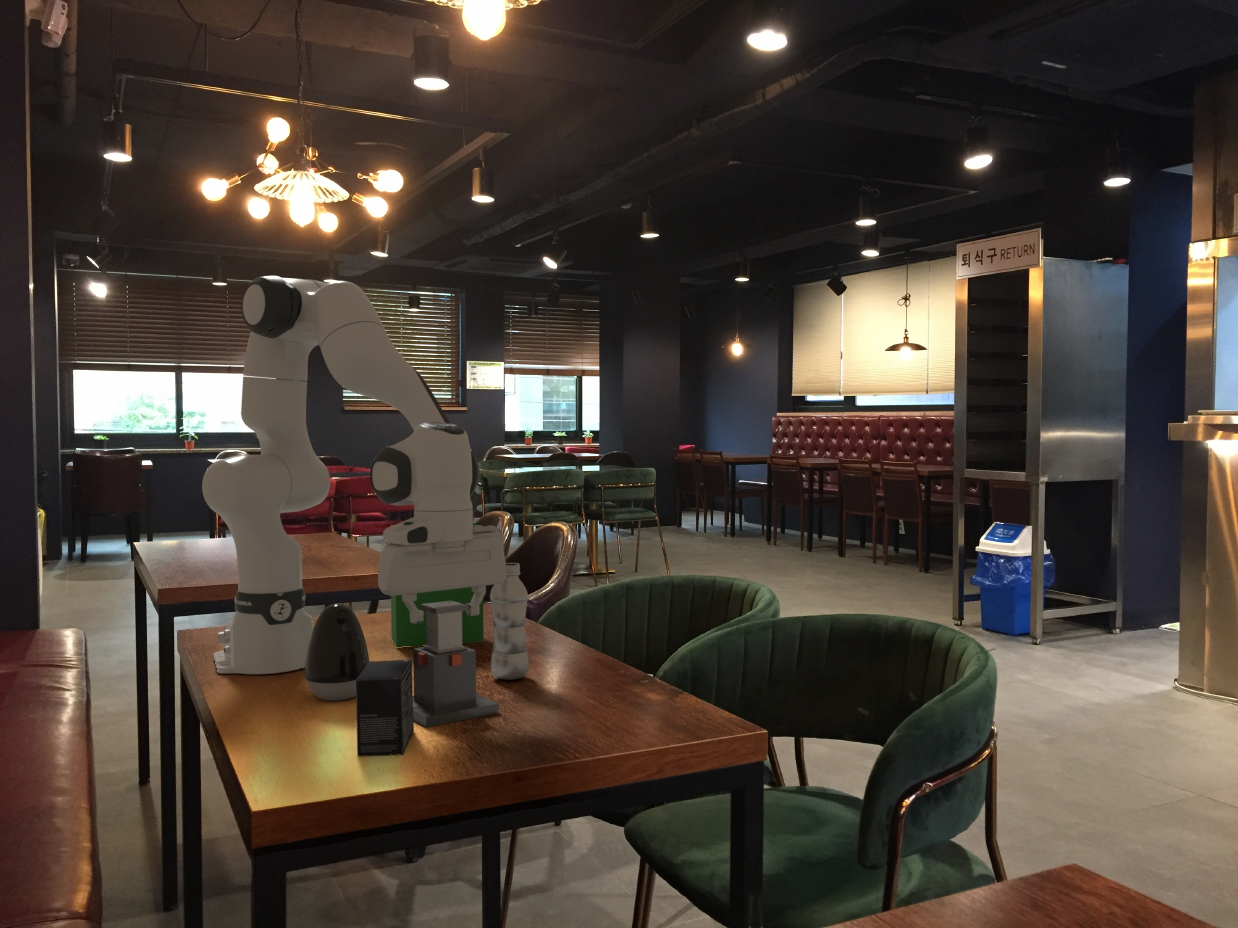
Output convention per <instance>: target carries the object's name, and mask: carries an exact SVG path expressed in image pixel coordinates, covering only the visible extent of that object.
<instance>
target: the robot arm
mask: <svg viewBox="0 0 1238 928" xmlns="http://www.w3.org/2000/svg"><path fill="white" fill-rule="evenodd" d="M240 308H241V315H242V316H241V317H242V319H243V320H244V323H245V325H246V327H247V328H248V330H250V334H249V337H248V341H247V346H246V351H245V356H244V363H243V372H242V373H243V374H242V375H243V377H242V386H241V387H242V390H241V405H240V406H241V407H240V408H241V409H240V417H241V419H242V422H243V423H244V425H245V426H246V427H247V428H249V429H250V430H252V431H253V432H254V434H255V435H256V437H257V439H258V443H259V447H260V454H240V455H233V456H230V457H227V458H223V459H219V460H216V461H214V462H213V463H211V464H210V465H209V466H208V468H207V469H206V471H205V473H204V474H203V478H202V482H201V483H202V484H201V485H202V486H201V488H202V489H201V490H202V495H203V498H204V501H205V502H206V504H207V506H208V508H210V510H212V511H213V512H214V513H216V514H217V515H218V516H219V517H221V519H222V520H223V522H224V523H225V524H226V526H227V528H228V530H229V533H230V534H231V536H232V539H233V542H234V543H233V544H234V546H235V551H236V560H237V561H236V562H237V578H238V579H237V581H238V582H237V585H238V588H237V589H238V590H236V592H235V597H234V610H235V612H234V615H233V616H232V618H231V619H230V621H229V623H228V624H227V626H226V628H225V630H224V631H219V632H217V643H218V645H219V646H221V645H225V646H224V648H223V649H222V650H218V651H216V652H214V653H213V656H214V659H213V661H214V660H215V663H214V666H215V665H216V666H215V669H216V668H217V670H216V673H217V672H218V673H217V674H242V675H243V674H244V675H267V674H268V675H269V674H279V673H280V674H281V673H287V672H292V671H297V670H300V668H301V669H305V664H306V657H307V651H308V647H309V643H310V639H311V635H312V632H313V629H314V622H313V617H312V616H311V615H310V614H309V613H307V612H306V611H305V608H304V607H305V606H306V594H305V588H304V587H303V576H302V575H303V567H302V565H303V564H302V563H303V560H302V559H303V557H302V553H303V552H302V547H301V545H300V544H299V542H298V541H297V540H296V539H295V538H293V537H291V536H289V535H288V534H287V532H286V531H285V529H284V526H283V523H282V519H281V514H284V513H295V512H301V511H304V510H307V509H311V508H313V507H315V506H318V505H319V504H321V503H322V502H324V500H326V499H327V497H328V495H329V493H330V489H331V488H330V487H331V477H330V472H329V470H328V468H327V466H326V465H325V464H324V463H323V461H322V460H320V458H319V457H318V456H317V454H316V453H315V451H314V448H313V446H312V443H311V441H310V436H309V433H308V427H307V395H308V394H307V393H308V391H307V390H308V389H307V388H308V367H309V366H308V362H309V356H310V353H311V352H312V350H313V349H314V348H315V347H317V346H319V349H320V351H321V354H322V356H323V360H324V363H325V364H326V367H327V369H328V371H329V373H330V375H332V377H333V379H334V380H335V381H336V382H337V383H338V384H339V385H340V386H341V387H342V388H345V389H346V390H348V391H350V392H352V393H354V394H357V395H361V396H364V397H368V398H371V399H374V400H376V401H378V402H381V403H383V404H386V405H388V406H390V407H393V408H394V409H395V410H398V412H400V413H401V415H403V416H404V417H405V418H406V419H407V421H408V423H409V425H410V427H411V428H412V429H413V432H412V434H410V435H409V436H408V437H406V438H405V439H403V440H401V441H399V442H398V443H395V444H393V445H390V446H386V447H383V448H381V449H380V450H379V451H378V453H377V454H375V456H374V458H373V460H372V463H371V466H370V471H369V472H370V474H369V476H370V477H369V479H370V484H371V487H372V491H373V492H374V494H375V496H377V498H378V499H379V501H381V502H383V503H384V504H386V505H393V506H398V507H399V506H413V507H414V509H413V517H411V518H408V519H406V520H404V521H401V522H399V523H397V524H394V526H391V527H390V526H389V527H386V528H385V529H383V532H382V537H383V538H382V539H383V541H384V542H385V543H387V544H386V545H384V547H383V548H382V550H381V552H380V554H379V561H378V574H377V577H378V578H377V585H378V589H379V590H380V592H381V593H383V594H384V595H386V596H390V597H391V596H396V595H402V600H403V602H404V604H405V605H406V607H407V608H408V610H409V611H410V622H411V623H413V624H415V623H422V622H423V621H424V618H423V616H424V611H421V610H418V609H417V607H416V606H415V604H414V602H413V601H416V600H417V593H423V592H432V591H441V590H449V589H458V588H467V587H472V592H475V593H474V595H473V598H472V600H471V602H470V603H467V604H466V605H467V611H466V614H467V615H469V616H475V615H479V613H480V610H479V604H480V603H481V601H482V599H483V600H484V597H485V595H486V593H487V586H494V584H502V583H503V582H504V580H505V578H506V575H507V573H506V563H507V561H506V557H505V550H504V547H505V539H504V536H505V535H504V532H503V531H502V530H501V529H500V528H498V527H496V525H491V524H490V525H487V526H484V525H483V526H474V527H473V523H474V519H473V518H474V516H473V515H474V513H473V511H474V510H473V508H474V507H473V502H472V499H471V496H472V495H473V494H474V492H475V491H476V489H477V488H478V487H477V486H478V485H479V482H480V474H481V473H480V472H481V471H480V466H479V462H478V460H477V457H476V455H475V454H474V453H473V451H472V449H471V445H470V440H469V435H468V433H467V431H466V429H465V428H463V427H462V426H459V425H457V424H453V423H451V422H450V420H449V418H448V416H447V415H446V413H445V412H444V410H443V408H442V407H441V404H440V403H439V402H438V400H437V397H435V395H434V394H433V393H434V392H432V390H431V388H430V386H429V385H428V383H427V382H426V380H425V379H424V377H423V376H422V374H420V372H419V370H418V371H417V370H416V368H415V367H413V366H412V365H411V364H410V363H409V362H408V361H407V360H406V359H405V357H403V356H402V354H401V353H400V352H399V350H397V348H396V346H395V345H394V344H393V342H392V340H391V339H390V337H389V335H388V333H387V331H386V329H385V326H384V325H383V322H382V320H381V318H380V316H379V314H378V312H377V311H376V309H375V307H374V305H373V304H372V302H371V300H370V299H369V297H368V296H367V294H366V293H365V292H364V290H363V289H362V288H361V287H360V286H358V285H357V284H355V283H353V282H350V281H346V280H337V281H336V280H335V281H331V282H324V281H320V280H316V279H315V280H314V279H309V278H308V279H302V278H291V277H289V278H288V277H280V275H279V276H278V275H266V276H265V275H264V276H258V277H256V278H254V279H252V280H251V281H250V282H249V284H248V285H247V287H246V288H245V290H244V292H243V294H242V298H241V307H240Z"/></svg>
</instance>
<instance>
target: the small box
mask: <svg viewBox="0 0 1238 928" xmlns="http://www.w3.org/2000/svg"><path fill="white" fill-rule="evenodd" d="M369 661H370V662H369V663H368V664H367V666H366V667H365V669H364V670H363V671H362V673H361V674H360V675H359V677H358V678H357V679H356V696H355V699H356V700H355V703H356V704H355V706H356V708H355V709H356V749H357V750H356V751H357V752H356V753H357V757H379V756H382V757H384V756H386V757H387V756H403V755H405V752H406V750H407V748H408V745H409V743H410V741H411V738H412V736H413V734H414V731H415V724H414V722H415V721H414V720H413V697H412V696H413V695H414V685H413V660H412V659H396V660H393V659H392V660H375V661H373V660H372V661H371V660H369Z"/></svg>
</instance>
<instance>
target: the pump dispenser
mask: <svg viewBox="0 0 1238 928" xmlns="http://www.w3.org/2000/svg"><path fill="white" fill-rule="evenodd" d="M370 661H371V660H370V656H369V650H368V645H367V643H366V639H365V634H364V632H363V629H362V626H361V623H360V620H359V619H358V617H357V615H356V614H355V612H354V610H352V608H351V607H350V606H349V605H346V604H344V603H332V604H330V605H328V606H326V607H325V608H323V610H322V612H320V614H319V616H318V618H317V619H316V621H315V624H314V625H313V632H312V635H311V639H310V643H309V647H308V651H307V657H306V664H305V667H304V678H305V679H304V680H306V682H307V685H308V689H310V692H311V693H312V694H313V695H314V696H315V697H317V698H318V699H321V700H323V701H329V702H339V701H340V702H341V701H346V700H349V699H353V698H354V697H356V679H357V678H358V677H359V675H360V674H361V673H362V671H363V670H364V669H365V667H366V666H367V664H368V663H369V662H370Z"/></svg>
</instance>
